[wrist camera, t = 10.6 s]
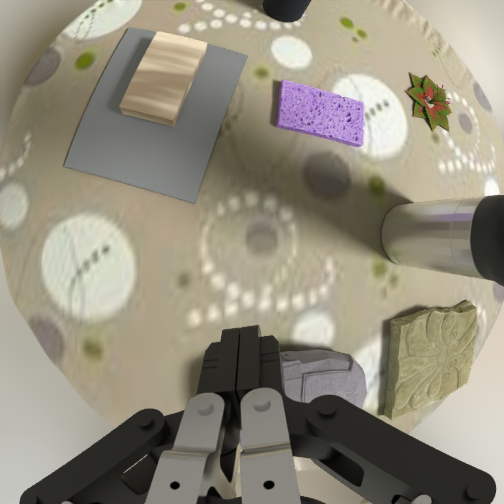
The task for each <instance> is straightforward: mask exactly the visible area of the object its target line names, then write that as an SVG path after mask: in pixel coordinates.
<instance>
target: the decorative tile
mask: <svg viewBox="0 0 504 504" xmlns="http://www.w3.org/2000/svg"><path fill="white" fill-rule="evenodd" d="M476 328H477V308H476V307H475V306H473V304H472V302H471V301H466V302H462V303H461V304H459V305H457V306H456V307H454V308H446V307H445V308H443V309H437V308H435V307H432V308H430V309H424V310H421V311H418V312H416V313H414V314H410V315H406V316H405V317H398V318H395V319H393V320H391V321H390V337H389V355H388V371H387V384H386V396H385V406H384V415H385V416H386V417H388V418H389V419H390V420H394V419H397V418H400V417H402V416H405V415H407V414H409V413H412V412H414V411H417V410H419V409H421V408H423V407H426V406H428V405H430V404H431V403H433V402H435V401H437V400H439V399H442V398H444V397H445V396H447V395H449V394H451V393H452V392H454V391H456V390H457V389H458V388H460V387H462V386H463V385H465V384H466V383H467V381H468V378H469V374H470V369H471V366H472V359H473V353H474V345H475V334H476Z"/></svg>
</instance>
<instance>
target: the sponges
mask: <svg viewBox="0 0 504 504" xmlns="http://www.w3.org/2000/svg"><path fill="white" fill-rule="evenodd" d="M363 112H364V103H363V102H360V101H356V100H354V99H350V98H347V97H341V96H340V95H337V94H335V93H331V92H328V91H324V90H321V89H318V88H314V87H310V86H307V85H303V84H299V83H295V82H291V81H288V80H282V81H281V85H280V87H279V101H278V113H277V122H276V127H277V128H284V129H288V130H293V131H297V132H301V133H306V134H310V135H314V136H318V137H322V138H326V139H329V140H334V141H337V142H340V143H344V144H347V145H351V146H354V147H360V146H362V145H363V137H364V130H363V126H364V119H363V117H364V115H363V114H364V113H363Z"/></svg>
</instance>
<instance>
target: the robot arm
mask: <svg viewBox="0 0 504 504" xmlns="http://www.w3.org/2000/svg"><path fill="white" fill-rule="evenodd" d="M381 235H382V244H383V248H384V250H385V253H386V254H387V256H388V257H389V258H390V259H391V260H392V261H393V262H394V263H396V264H398V265H402V266H408V267H414V268H420V269H426V270H432V271H438V272H444V273H450V274H457V275H463V276H469V277H475V278H481V279H487V280H492V281H495V282H497V283H498V284H500V285H502V286H504V195H494V196H483V197H472V198H462V199H447V200H437V201H427V202H418V203H411V204H403V205H398V206H396V207H394V208H393V209H391V210H390V211H389V213H388V214H387V215H386V217H385V219H384V222H383V225H382V232H381ZM240 430H242V441H243V451H242V452H241V453H240V450H241V443H240V441H239V440H240ZM146 454H147V456H146V457H145V458H143V457H144V456H145V455H146ZM293 456H296V457H303V458H311V460H312V461H313V462H314V463H315V464H316V465H318V466H319V467H320V468H322V469H323V470H324V471H326V472H327V473H329V474H330V475H331V476H333V477H334V478H335V479H337V480H338V481H340V482H341V483H343V484H344V485H346V486H347V487H349V488H350V489H351V490H353V491H355V492H356V493H357V494H359V495H360V496H362V497H363V498H365V499H366V500H368V501H370V502H371V503H373V504H490V503H491V502H492V501H493V499H494V497H495V494H496V484H495V481H494V479H493V478H492V476H491V475H489V474H488V473H486V472H484V471H482V470H480V469H477V468H475V467H473V466H471V465H468V464H466V463H464V462H462V461H460V460H458V459H455V458H453V457H451V456H449V455H447V454H445V453H443V452H441V451H439V450H437V449H435V448H433V447H431V446H429V445H427V444H425V443H423V442H421V441H419V440H417V439H415V438H413V437H412V436H409V435H408V434H406V433H404V432H402V431H400V430H398V429H396V428H395V427H393V426H391V425H389V424H387V423H385V422H384V421H382V420H380V419H378V418H376V417H375V416H373V415H371V414H369V413H368V412H366V411H364V410H362V409H361V408H359V407H357V406H355V405H354V404H352V403H350V402H349V401H347V400H345V399H343V398H342V397H340V396H337V395H330V394H328V395H322V396H319V397H316V398H314V399H313V400H312V401H311V402H310V403H305V402H298V401H294V400H292V399H290V398H289V397H287V396H286V394H285V384H284V373H283V365H282V359H281V353H280V347H279V342H278V341H277V340H276V339H275V337H274V336H273V335H271V336H264V337H262V336H261V331H260V327H259V325H255V326H247V327H241V328H232V329H224V330H222V335H221V342H215V343H211V345H210V346H209V347H208V349H207V350H206V351H205V355H204V362H203V365H202V370H201V375H200V380H199V385H198V391H197V395H196V396H195V397H193V398H192V399H190V401H189V402H188V403H187V405H186V407H185V410H183V411H180V412H177V413H174V414H170V415H167V416H163V414H162V413H161V412H160V411H159V410H156V409H144V410H141V411H139V412H137V413H136V414H134V415H133V416H132V417H130V418H129V419H128V420H126V421H125V422H124V423H122V424H121V425H119V426H118V427H117V428H115V429H114V430H113V431H111V432H110V433H109V434H107V435H106V436H105V437H103V438H102V439H100V440H99V441H98V442H96V443H95V444H93V445H92V446H91V447H89V448H88V449H86V450H85V451H84V452H82V453H81V454H79V455H78V456H76V457H75V458H73V459H72V460H71V461H69V462H68V463H66V464H65V465H63V466H62V467H60V468H59V469H58V470H56V471H55V472H53V473H51V474H50V475H48V476H47V477H45V478H44V479H42V480H41V481H40V482H38V483H36V484H35V485H33V486H32V487H30V488H28V489H27V490H26V491H25V492H24V493H23V494H22V496H21V498H20V504H325V503H323V502H321V501H318V500H316V499H313V498H309V497H304V496H300V493H299V488H298V482H297V476H296V471H295V465H294V460H293ZM239 457H240V474H241V492H242V496H241V497H236V490H235V486H236V478H237V471H238V464H239ZM141 458H143V459H142V460H141V461H140V462H138V461H139V460H140V459H141ZM136 462H138V463H137V464H136V465H134V464H135V463H136ZM132 465H134V466H133V467H132V468H131V469H130V470H128V471H127V472H125V471H126V470H127V469H128V468H130V467H131V466H132ZM124 472H125V473H124Z"/></svg>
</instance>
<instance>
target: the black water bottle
mask: <svg viewBox="0 0 504 504" xmlns="http://www.w3.org/2000/svg"><path fill="white" fill-rule="evenodd" d="M310 2H311V0H264V3H263V7H264V10H265V11H266V13H267V14H268V15H269V16H271V17H272V18H274V19H276V20H278V21H282V22H294V21H297V20H299V19H300V18H301V16H302V15H303V13H304V12H305V10H306V8H307V7H308V5H309V3H310Z"/></svg>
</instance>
